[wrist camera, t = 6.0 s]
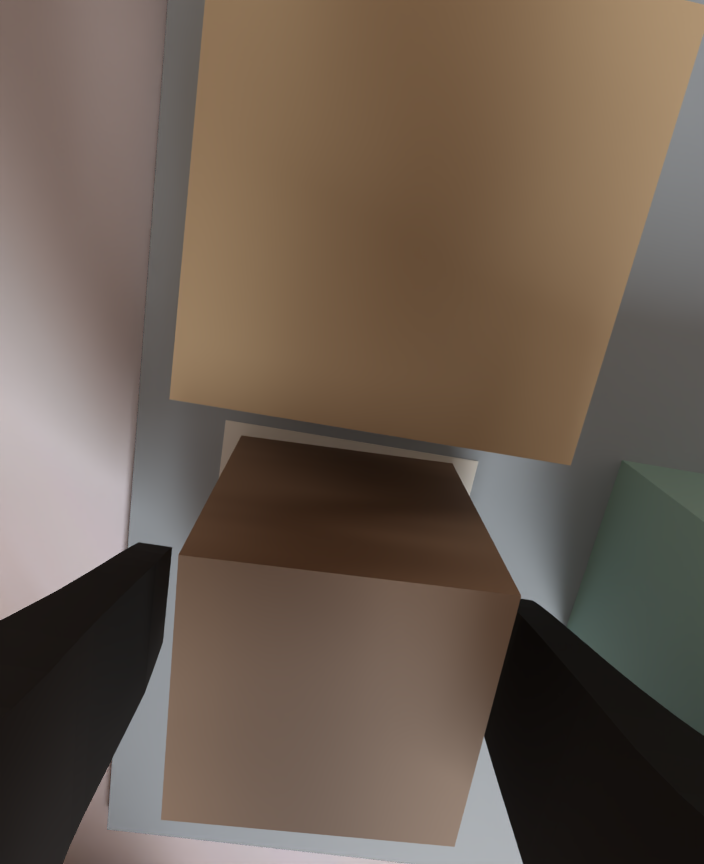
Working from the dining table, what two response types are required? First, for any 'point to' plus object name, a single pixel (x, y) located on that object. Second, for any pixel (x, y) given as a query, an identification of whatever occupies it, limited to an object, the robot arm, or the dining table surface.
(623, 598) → the sage-green block
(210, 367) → the oak base block
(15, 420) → the dining table surface
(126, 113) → the dining table surface
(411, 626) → the walnut block
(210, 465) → the blueprint board
